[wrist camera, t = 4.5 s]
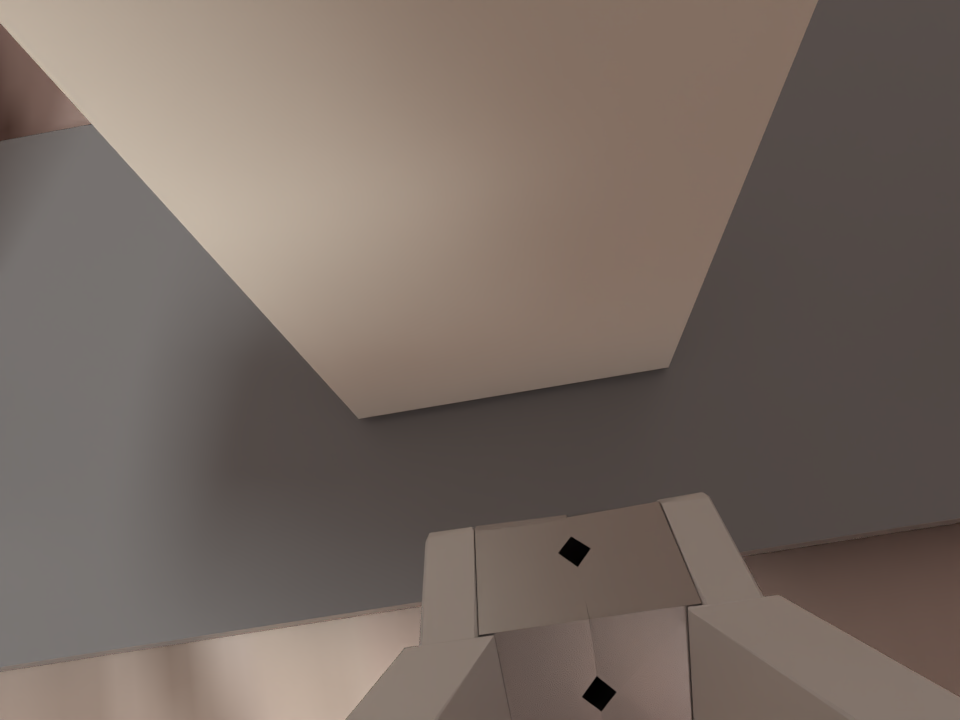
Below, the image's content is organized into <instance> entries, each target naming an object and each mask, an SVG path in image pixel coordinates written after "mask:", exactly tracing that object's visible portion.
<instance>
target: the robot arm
mask: <svg viewBox="0 0 960 720" xmlns="http://www.w3.org/2000/svg"><path fill="white" fill-rule="evenodd" d="M346 720H960V697H959V696H957V695H955V694H953V693H952V692H950V691H948V690H946V689H945V688H943V687H941V686H939V685H937V684H936V683H934V682H932V681H930V680H929V679H927V678H925V677H923V676H922V675H920V674H918V673H916V672H915V671H913V670H911V669H909V668H907V667H906V666H904V665H902V664H900V663H899V662H897V661H895V660H893V659H892V658H890V657H888V656H886V655H885V654H883V653H881V652H879V651H878V650H876V649H874V648H872V647H870V646H869V645H867V644H865V643H863V642H862V641H860V640H858V639H856V638H855V637H853V636H851V635H849V634H848V633H846V632H844V631H842V630H841V629H839V628H837V627H835V626H833V625H832V624H830V623H828V622H826V621H825V620H823V619H821V618H819V617H818V616H816V615H814V614H812V613H811V612H809V611H807V610H805V609H804V608H802V607H800V606H798V605H796V604H795V603H793V602H791V601H789V600H788V599H786V598H784V597H782V596H781V595H772V596H765V597H764V596H763V594H762V592H761V590H760V589H759V587H758V585H757V583H756V581H755V579H754V578H753V576H752V574H751V572H750V570H749V568H748V567H747V565H746V563H745V561H744V559H743V557H742V556H741V554H740V552H739V550H738V548H737V546H736V544H735V543H734V541H733V539H732V537H731V535H730V533H729V532H728V530H727V528H726V526H725V524H724V522H723V521H722V519H721V517H720V515H719V513H718V511H717V510H716V508H715V506H714V504H713V502H712V500H711V499H710V497H709V496H708V495H706V494H705V493H703V492H699V493H694V494H688V495H682V496H677V497H671V498H665V499H660V500H657V502H652V503H645V504H639V505H632V506H626V507H619V508H613V509H606V510H599V511H593V512H586V513H580V514H573V515H567V516H566V515H560V516H552V517H545V518H537V519H529V520H521V521H513V522H505V523H497V524H489V525H481V526H476V528H473V527H467V528H460V529H453V530H446V531H439V532H432V533H429V535H428V537H427V540H426V542H425V559H424V575H423V592H422V608H421V625H420V642H419V646H414V647H408V648H404V650H403V651H402V652H401V653H400V654H399V656H398V657H397V658H396V659H395V660H394V662H393V663H392V664H391V665H390V666H389V668H388V669H387V670H386V671H385V672H384V674H383V675H382V676H381V677H380V679H379V680H378V681H377V682H376V683H375V685H374V686H373V687H372V688H371V689H370V691H369V692H368V693H367V694H366V695H365V697H364V698H363V699H362V700H361V701H360V703H359V704H358V705H357V706H356V708H355V709H354V710H353V711H352V712H351V714H350V715H349V716H348V717H347V718H346Z"/></svg>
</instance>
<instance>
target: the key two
mask: <svg viewBox="0 0 960 720" xmlns="http://www.w3.org/2000/svg"><path fill="white" fill-rule="evenodd" d="M817 2H818V0H0V23H1V24H2V26H3V27H4V28H5V29H6V30H7V31H8V32H9V33H10V34H11V36H12V37H13V38H14V39H15V40H16V41H17V42H18V43H19V44H20V45H21V47H22V48H23V49H24V50H25V51H26V52H27V53H28V54H29V55H30V56H31V58H32V59H33V60H34V61H35V62H36V63H37V64H38V65H39V66H40V68H41V69H42V70H43V71H44V72H45V73H46V74H47V75H48V76H49V77H50V79H51V80H52V81H53V82H54V83H55V84H56V85H57V86H58V87H59V89H60V90H61V91H62V92H63V93H64V94H65V95H66V96H67V97H68V98H69V100H70V101H71V102H72V103H73V104H74V105H75V106H76V107H77V108H78V110H79V111H80V112H81V113H82V114H83V115H84V116H85V117H86V118H87V119H88V121H89V122H90V123H91V124H92V125H93V126H94V127H95V128H96V129H97V130H98V132H99V133H100V134H101V135H102V136H103V137H104V138H105V139H106V140H107V142H108V143H109V144H110V145H111V146H112V147H113V148H114V149H115V150H116V151H117V153H118V154H119V155H120V156H121V157H122V158H123V159H124V160H125V161H126V163H127V164H128V165H129V166H130V167H131V168H132V169H133V170H134V171H135V172H136V174H137V175H138V176H139V177H140V178H141V179H142V180H143V181H144V182H145V184H146V185H147V186H148V187H149V188H150V189H151V190H152V191H153V192H154V193H155V195H156V196H157V197H158V198H159V199H160V200H161V201H162V202H163V203H164V204H165V206H166V207H167V208H168V209H169V210H170V211H171V212H172V213H173V214H174V216H175V217H176V218H177V219H178V220H179V221H180V222H181V223H182V224H183V225H184V227H185V228H186V229H187V230H188V231H189V232H190V233H191V234H192V235H193V237H194V238H195V239H196V240H197V241H198V242H199V243H200V244H201V245H202V246H203V248H204V249H205V250H206V251H207V252H208V253H209V254H210V255H211V256H212V258H213V259H214V260H215V261H216V262H217V263H218V264H219V265H220V266H221V267H222V269H223V270H224V271H225V272H226V273H227V274H228V275H229V276H230V277H231V278H232V280H233V281H234V282H235V283H236V284H237V285H238V286H239V287H240V288H241V290H242V291H243V292H244V293H245V294H246V295H247V296H248V297H249V298H250V299H251V301H252V302H253V303H254V304H255V305H256V306H257V307H258V308H259V309H260V311H261V312H262V313H263V314H264V315H265V316H266V317H267V318H268V319H269V320H270V322H271V323H272V324H273V325H274V326H275V327H276V328H277V329H278V330H279V331H280V333H281V334H282V335H283V336H284V337H285V338H286V339H287V340H288V341H289V343H290V344H291V345H292V346H293V347H294V348H295V349H296V350H297V351H298V352H299V354H300V355H301V356H302V357H303V358H304V359H305V360H306V361H307V362H308V364H309V365H310V366H311V367H312V368H313V369H314V370H315V371H316V372H317V373H318V375H319V376H320V377H321V378H322V379H323V380H324V381H325V382H326V383H327V385H328V386H329V387H330V388H331V389H332V390H333V391H334V392H335V393H336V394H337V396H338V397H339V398H340V399H341V400H342V401H343V402H344V403H345V404H346V405H347V407H348V408H349V409H350V410H351V411H352V412H353V413H354V414H355V415H356V417H357V418H358V419H361V418H367V417H373V416H379V415H385V414H391V413H397V412H403V411H409V410H415V409H421V408H427V407H433V406H439V405H445V404H451V403H457V402H463V401H469V400H475V399H481V398H487V397H493V396H499V395H505V394H511V393H517V392H523V391H529V390H535V389H541V388H547V387H553V386H559V385H565V384H571V383H577V382H583V381H589V380H595V379H601V378H607V377H613V376H619V375H625V374H631V373H637V372H643V371H649V370H656V369H662V368H668V367H669V365H670V362H671V360H672V358H673V355H674V353H675V350H676V348H677V345H678V343H679V340H680V338H681V335H682V333H683V331H684V328H685V326H686V323H687V321H688V318H689V316H690V313H691V311H692V308H693V306H694V304H695V301H696V299H697V296H698V294H699V291H700V289H701V286H702V284H703V282H704V279H705V277H706V274H707V272H708V269H709V267H710V264H711V262H712V259H713V257H714V255H715V252H716V250H717V247H718V245H719V242H720V240H721V237H722V235H723V232H724V230H725V228H726V225H727V223H728V220H729V218H730V215H731V213H732V210H733V208H734V206H735V203H736V201H737V198H738V196H739V193H740V191H741V188H742V186H743V183H744V181H745V179H746V176H747V174H748V171H749V169H750V166H751V164H752V161H753V159H754V156H755V154H756V152H757V149H758V147H759V144H760V142H761V139H762V137H763V134H764V132H765V129H766V127H767V125H768V122H769V120H770V117H771V115H772V112H773V110H774V107H775V105H776V103H777V100H778V98H779V95H780V93H781V90H782V88H783V85H784V83H785V80H786V78H787V76H788V73H789V71H790V68H791V66H792V63H793V61H794V58H795V56H796V53H797V51H798V49H799V46H800V44H801V41H802V39H803V36H804V34H805V31H806V29H807V27H808V24H809V22H810V19H811V17H812V14H813V12H814V9H815V7H816V4H817Z"/></svg>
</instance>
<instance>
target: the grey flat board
mask: <svg viewBox="0 0 960 720" xmlns="http://www.w3.org/2000/svg"><path fill="white" fill-rule="evenodd" d="M699 492H703V493H705V494H706V495H708V496H709V497H710V499H711V500H712V502H713V504H714V506H715V508H716V510H717V511H718V513H719V515H720V517H721V519H722V521H723V522H724V524H725V526H726V528H727V530H728V532H729V533H730V535H731V537H732V539H733V541H734V543H735V544H736V546H737V548H738V550H739V552H740V554H741V556H749V555H755V554H762V553H768V552H774V551H781V550H787V549H794V548H800V547H807V546H813V545H820V544H826V543H832V542H839V541H845V540H852V539H858V538H865V537H871V536H878V535H884V534H890V533H897V532H903V531H910V530H916V529H923V528H929V527H936V526H942V525H948V524H955V523H960V0H818V2H817V4H816V7H815V9H814V12H813V14H812V17H811V19H810V22H809V24H808V27H807V29H806V31H805V34H804V36H803V39H802V41H801V44H800V46H799V49H798V51H797V53H796V56H795V58H794V61H793V63H792V66H791V68H790V71H789V73H788V76H787V78H786V80H785V83H784V85H783V88H782V90H781V93H780V95H779V98H778V100H777V103H776V105H775V107H774V110H773V112H772V115H771V117H770V120H769V122H768V125H767V127H766V129H765V132H764V134H763V137H762V139H761V142H760V144H759V147H758V149H757V152H756V154H755V156H754V159H753V161H752V164H751V166H750V169H749V171H748V174H747V176H746V179H745V181H744V183H743V186H742V188H741V191H740V193H739V196H738V198H737V201H736V203H735V206H734V208H733V210H732V213H731V215H730V218H729V220H728V223H727V225H726V228H725V230H724V232H723V235H722V237H721V240H720V242H719V245H718V247H717V250H716V252H715V255H714V257H713V259H712V262H711V264H710V267H709V269H708V272H707V274H706V277H705V279H704V282H703V284H702V286H701V289H700V291H699V294H698V296H697V299H696V301H695V304H694V306H693V308H692V311H691V313H690V316H689V318H688V321H687V323H686V326H685V328H684V331H683V333H682V335H681V338H680V340H679V343H678V345H677V348H676V350H675V353H674V355H673V358H672V360H671V362H670V365H669V367H668V368H662V369H656V370H649V371H643V372H637V373H631V374H625V375H619V376H613V377H607V378H601V379H595V380H589V381H583V382H577V383H571V384H565V385H559V386H553V387H547V388H541V389H535V390H529V391H523V392H517V393H511V394H505V395H499V396H493V397H487V398H481V399H475V400H469V401H463V402H457V403H451V404H445V405H439V406H433V407H427V408H421V409H415V410H409V411H403V412H397V413H391V414H385V415H379V416H373V417H367V418H361V419H358V418H357V417H356V415H355V414H354V413H353V412H352V411H351V410H350V409H349V408H348V407H347V405H346V404H345V403H344V402H343V401H342V400H341V399H340V398H339V397H338V396H337V394H336V393H335V392H334V391H333V390H332V389H331V388H330V387H329V386H328V385H327V383H326V382H325V381H324V380H323V379H322V378H321V377H320V376H319V375H318V373H317V372H316V371H315V370H314V369H313V368H312V367H311V366H310V365H309V364H308V362H307V361H306V360H305V359H304V358H303V357H302V356H301V355H300V354H299V352H298V351H297V350H296V349H295V348H294V347H293V346H292V345H291V344H290V343H289V341H288V340H287V339H286V338H285V337H284V336H283V335H282V334H281V333H280V331H279V330H278V329H277V328H276V327H275V326H274V325H273V324H272V323H271V322H270V320H269V319H268V318H267V317H266V316H265V315H264V314H263V313H262V312H261V311H260V309H259V308H258V307H257V306H256V305H255V304H254V303H253V302H252V301H251V299H250V298H249V297H248V296H247V295H246V294H245V293H244V292H243V291H242V290H241V288H240V287H239V286H238V285H237V284H236V283H235V282H234V281H233V280H232V278H231V277H230V276H229V275H228V274H227V273H226V272H225V271H224V270H223V269H222V267H221V266H220V265H219V264H218V263H217V262H216V261H215V260H214V259H213V258H212V256H211V255H210V254H209V253H208V252H207V251H206V250H205V249H204V248H203V246H202V245H201V244H200V243H199V242H198V241H197V240H196V239H195V238H194V237H193V235H192V234H191V233H190V232H189V231H188V230H187V229H186V228H185V227H184V225H183V224H182V223H181V222H180V221H179V220H178V219H177V218H176V217H175V216H174V214H173V213H172V212H171V211H170V210H169V209H168V208H167V207H166V206H165V204H164V203H163V202H162V201H161V200H160V199H159V198H158V197H157V196H156V195H155V193H154V192H153V191H152V190H151V189H150V188H149V187H148V186H147V185H146V184H145V182H144V181H143V180H142V179H141V178H140V177H139V176H138V175H137V174H136V172H135V171H134V170H133V169H132V168H131V167H130V166H129V165H128V164H127V163H126V161H125V160H124V159H123V158H122V157H121V156H120V155H119V154H118V153H117V151H116V150H115V149H114V148H113V147H112V146H111V145H110V144H109V143H108V142H107V140H106V139H105V138H104V137H103V136H102V135H101V134H100V133H99V132H98V130H97V129H96V128H95V127H94V126H93V125H92V124H90V125H84V126H79V127H73V128H68V129H63V130H57V131H52V132H47V133H41V134H36V135H30V136H25V137H20V138H14V139H9V140H3V141H0V672H1V671H8V670H14V669H21V668H27V667H33V666H40V665H46V664H53V663H59V662H66V661H72V660H79V659H85V658H91V657H98V656H104V655H111V654H117V653H124V652H130V651H136V650H143V649H149V648H156V647H162V646H169V645H175V644H182V643H188V642H194V641H201V640H207V639H214V638H220V637H227V636H233V635H240V634H246V633H252V632H259V631H265V630H272V629H278V628H285V627H291V626H298V625H304V624H310V623H317V622H323V621H330V620H336V619H343V618H349V617H356V616H362V615H368V614H375V613H381V612H388V611H394V610H401V609H407V608H414V607H420V606H422V592H423V575H424V559H425V542H426V540H427V537H428V535H429V533H432V532H439V531H446V530H453V529H460V528H467V527H473V528H476V526H481V525H489V524H497V523H505V522H513V521H521V520H529V519H537V518H545V517H552V516H560V515H566V516H567V515H573V514H580V513H586V512H593V511H599V510H606V509H613V508H619V507H626V506H632V505H639V504H645V503H652V502H657V500H660V499H665V498H671V497H677V496H682V495H688V494H694V493H699Z"/></svg>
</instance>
